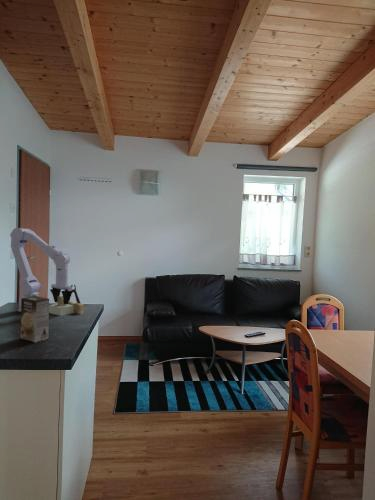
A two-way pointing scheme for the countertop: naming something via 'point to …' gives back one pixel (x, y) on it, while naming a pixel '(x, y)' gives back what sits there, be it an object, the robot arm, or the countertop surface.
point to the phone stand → (75, 294)
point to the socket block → (61, 309)
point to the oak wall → (77, 307)
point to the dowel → (60, 301)
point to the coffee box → (34, 318)
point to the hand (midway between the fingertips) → (61, 303)
